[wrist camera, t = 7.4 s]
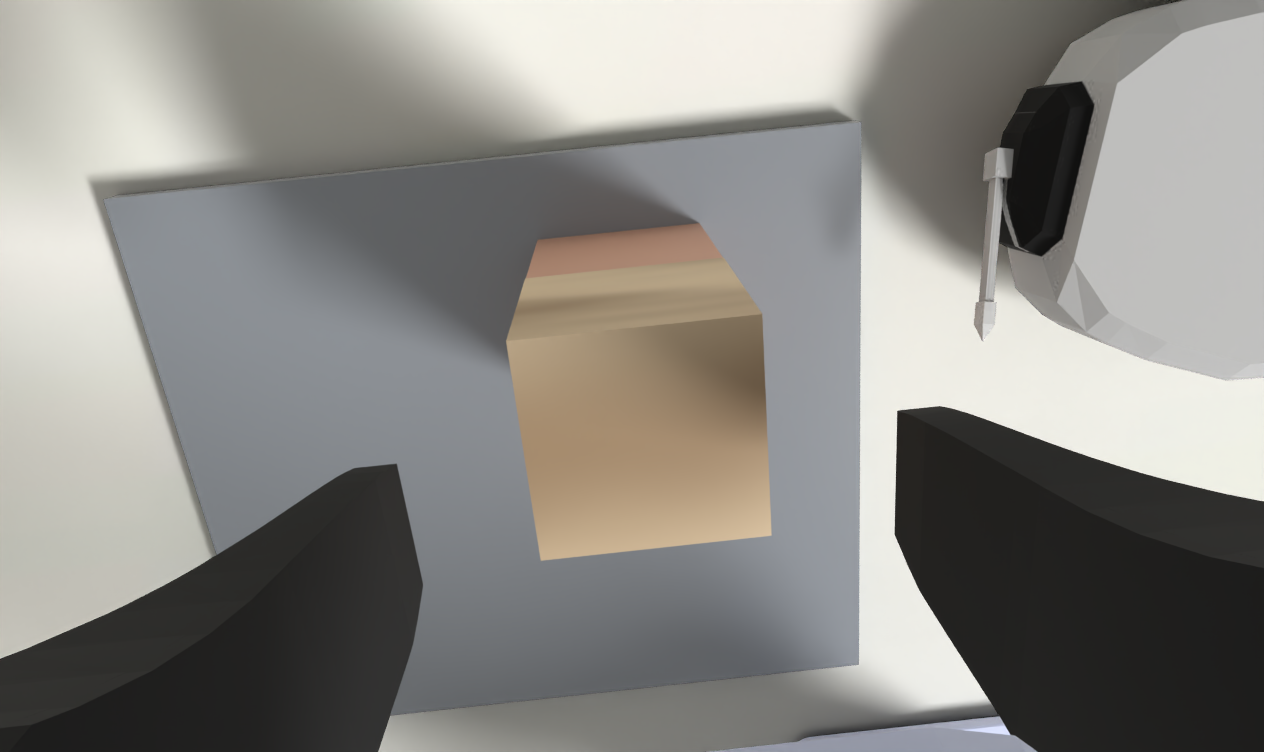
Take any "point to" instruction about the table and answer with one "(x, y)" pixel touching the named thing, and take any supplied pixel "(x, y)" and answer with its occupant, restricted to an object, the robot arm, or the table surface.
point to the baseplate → (485, 402)
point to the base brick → (621, 250)
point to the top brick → (641, 408)
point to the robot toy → (1142, 189)
